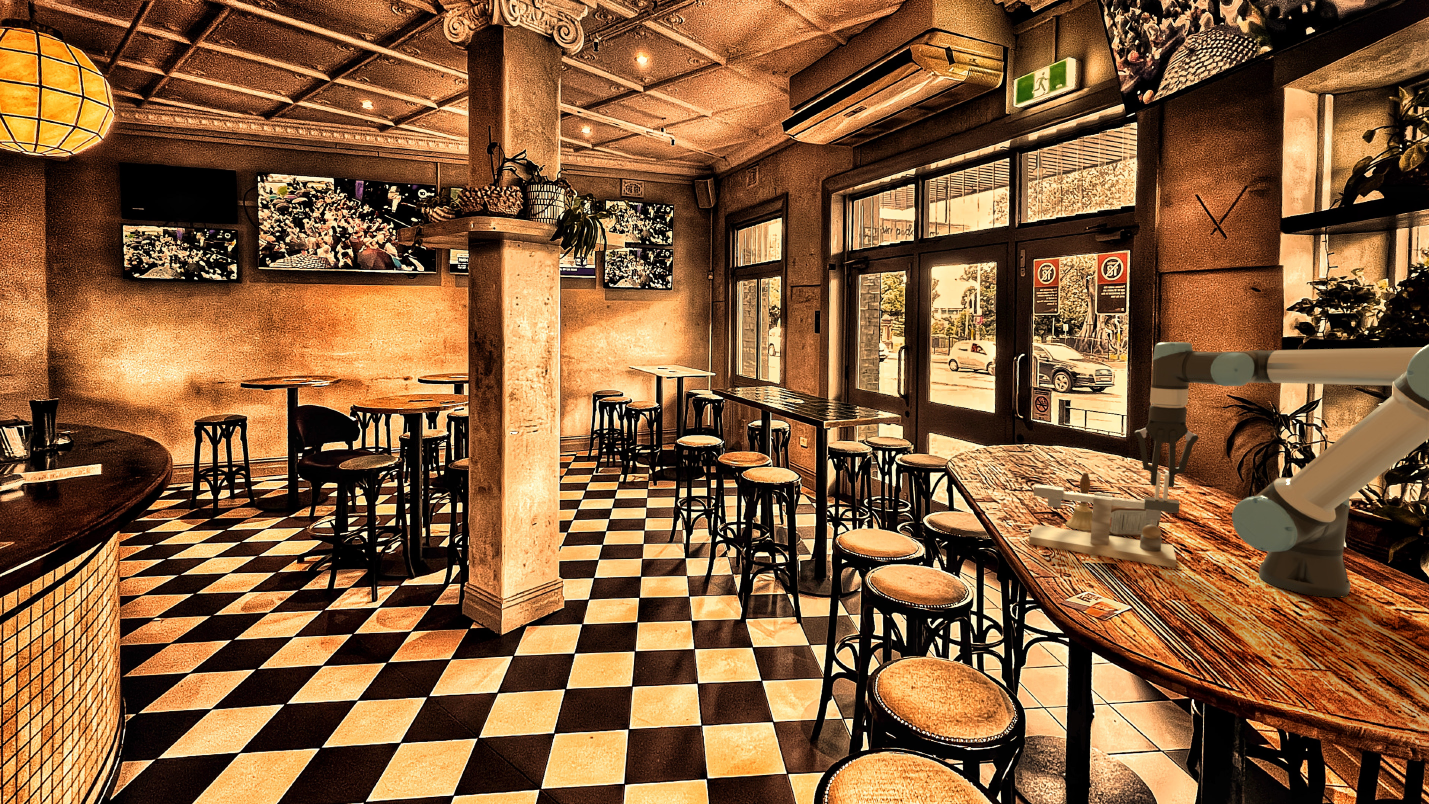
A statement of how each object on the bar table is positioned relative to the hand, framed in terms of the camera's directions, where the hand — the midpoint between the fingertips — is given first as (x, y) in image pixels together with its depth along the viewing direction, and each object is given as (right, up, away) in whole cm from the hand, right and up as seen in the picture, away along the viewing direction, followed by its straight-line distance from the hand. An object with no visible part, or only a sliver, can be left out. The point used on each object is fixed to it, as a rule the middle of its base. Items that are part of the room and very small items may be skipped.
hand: (1160, 498), depth 159 cm
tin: (+4, -13, +19) cm, 23 cm away
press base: (-10, -14, +8) cm, 19 cm away
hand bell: (-5, -12, +26) cm, 29 cm away
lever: (-10, -5, +7) cm, 13 cm away
